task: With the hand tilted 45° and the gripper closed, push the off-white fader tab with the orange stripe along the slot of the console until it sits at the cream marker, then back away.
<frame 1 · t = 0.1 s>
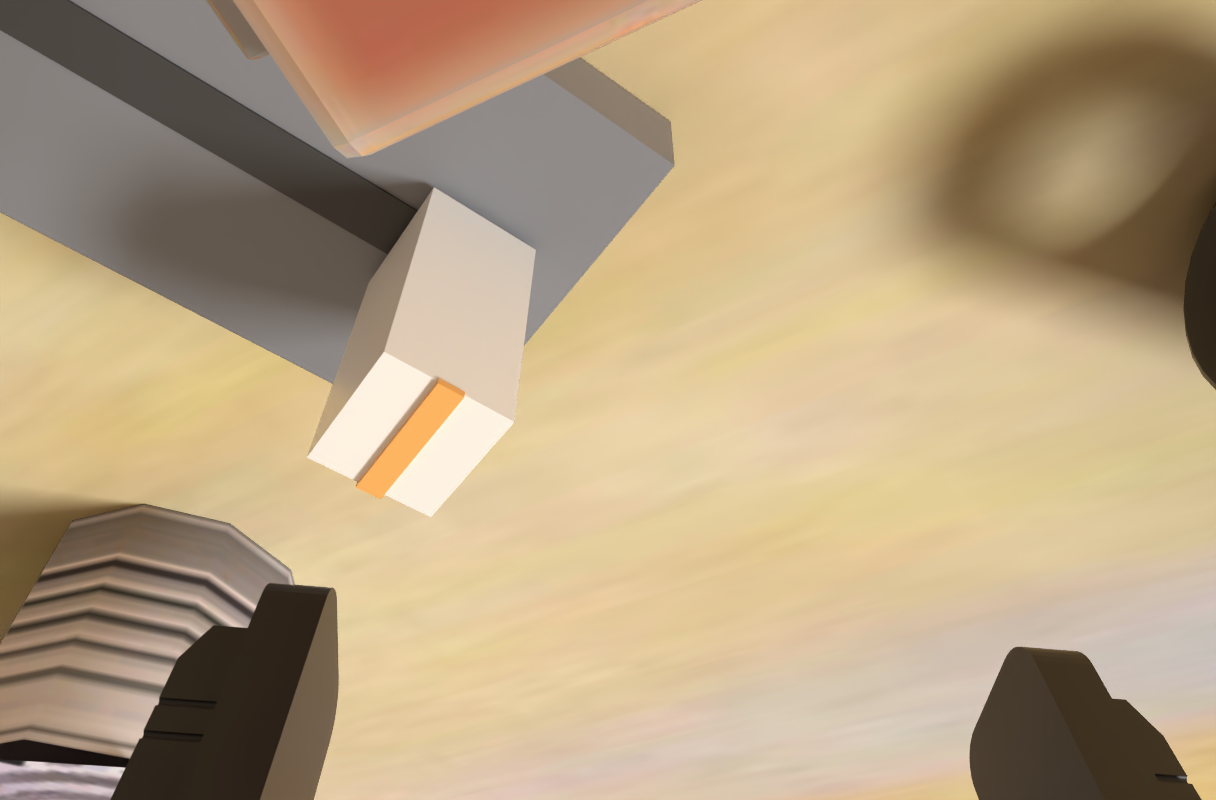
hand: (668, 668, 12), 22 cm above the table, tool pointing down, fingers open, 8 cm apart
console: (170, 33, 30), on the table
can: (179, 590, 46), on the table
fader tab: (432, 345, 28), point 7 cm above the table, slide at 0.0 cm
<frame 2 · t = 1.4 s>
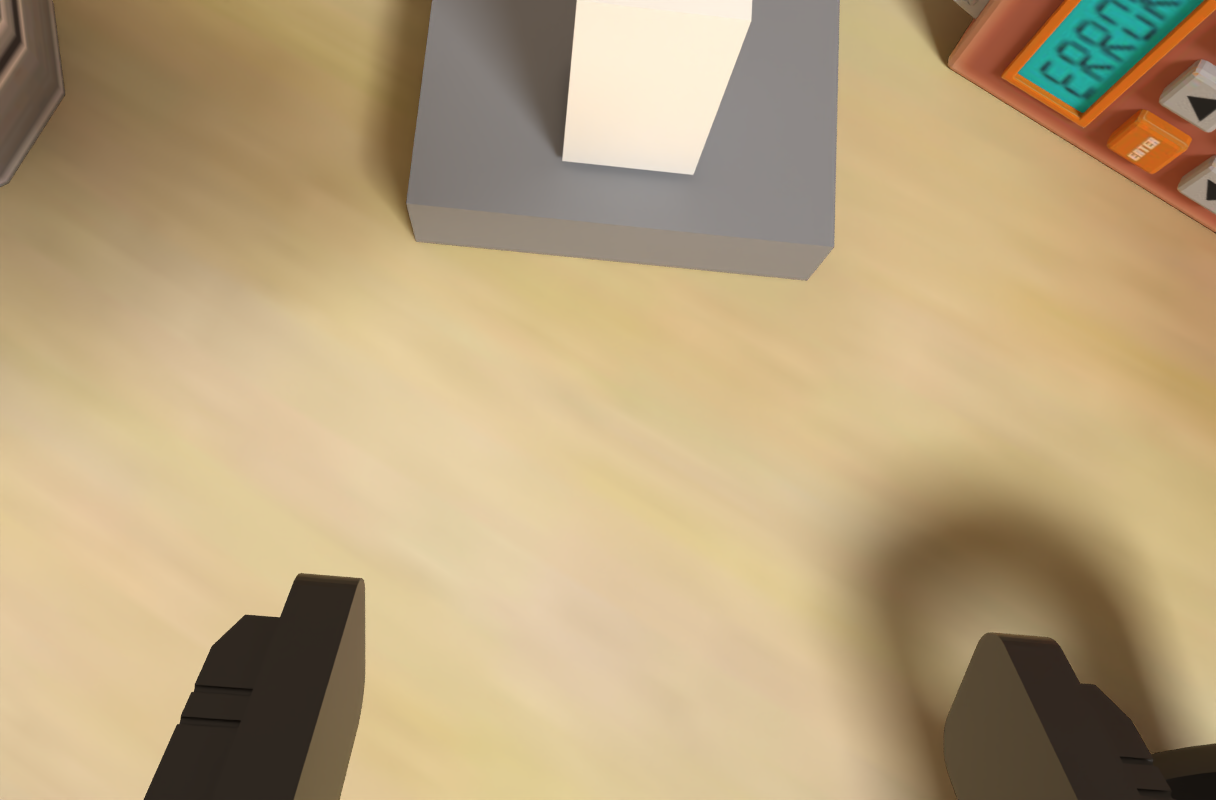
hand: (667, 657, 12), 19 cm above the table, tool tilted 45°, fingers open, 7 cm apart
fader tab: (648, 40, 27), point 7 cm above the table, slide at 0.0 cm
control panel: (1123, 105, 37), on the table
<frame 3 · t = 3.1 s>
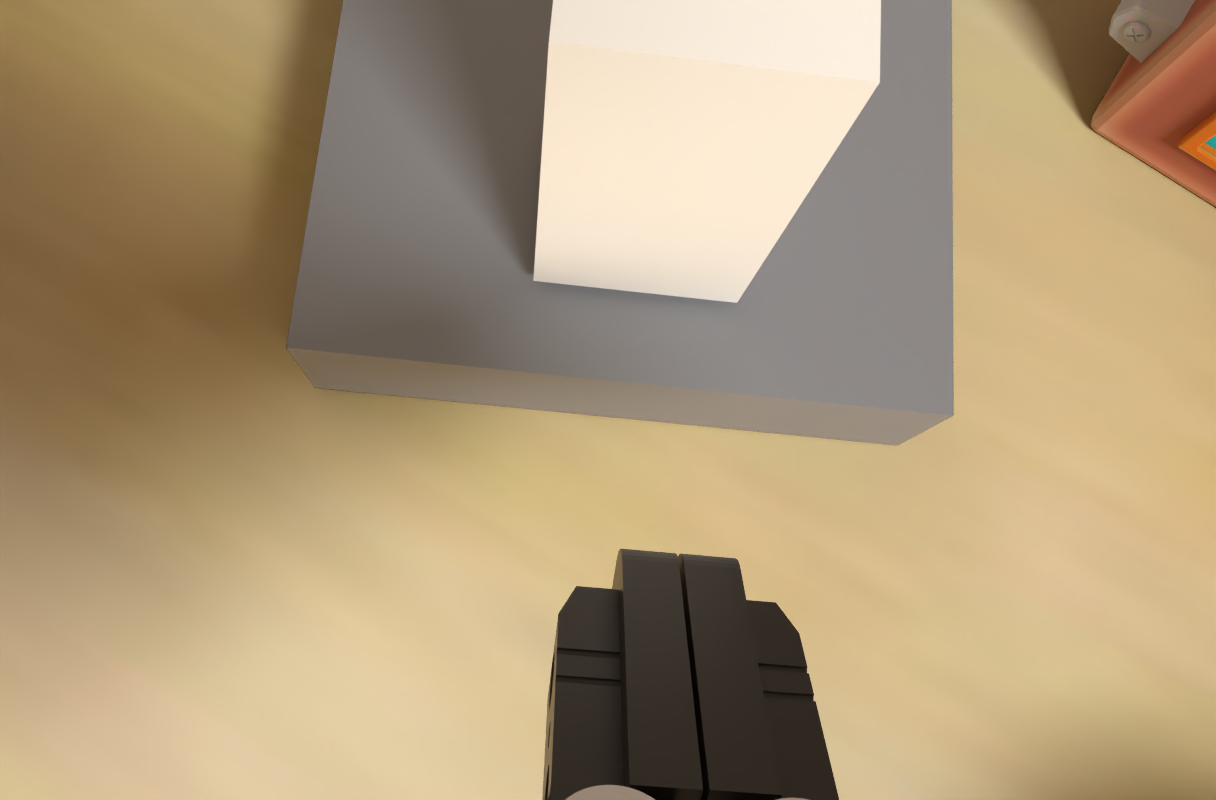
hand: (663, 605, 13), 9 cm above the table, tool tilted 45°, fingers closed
fader tab: (674, 102, 16), point 7 cm above the table, slide at 0.0 cm
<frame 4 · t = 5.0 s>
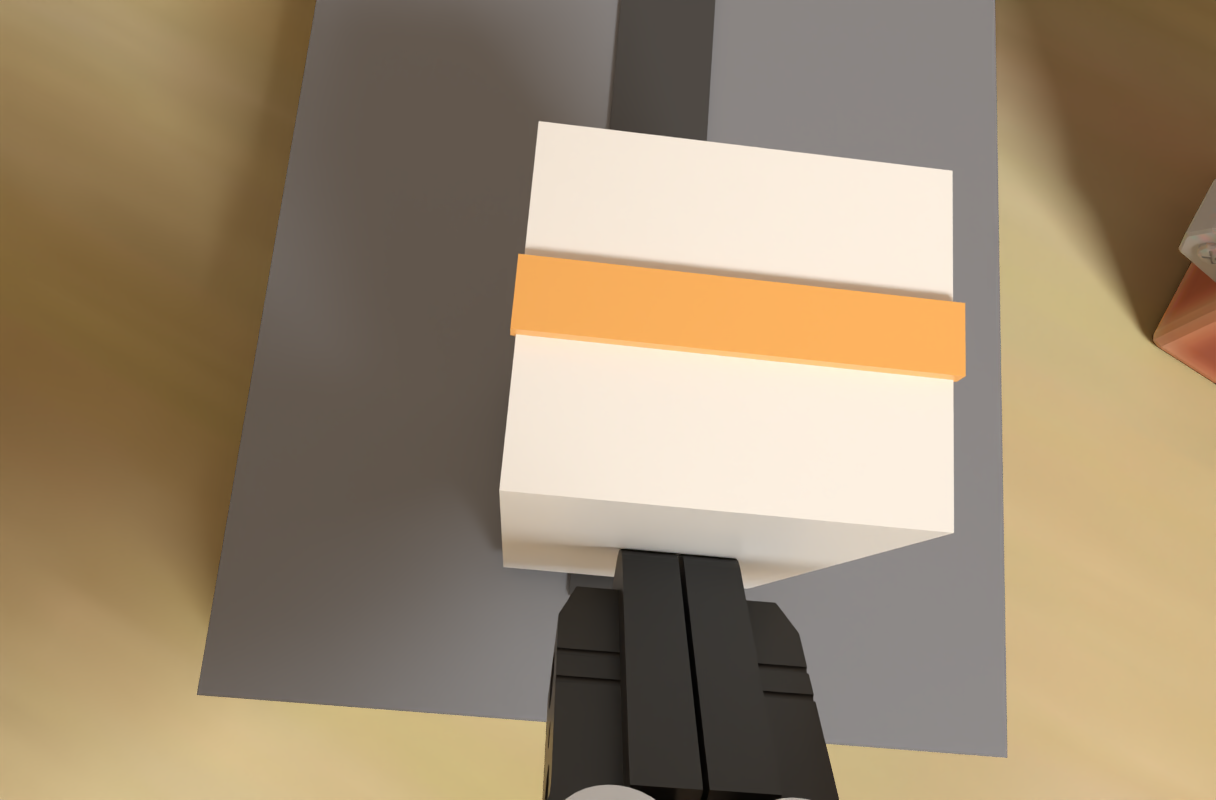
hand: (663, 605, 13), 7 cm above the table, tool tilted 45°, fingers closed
console: (647, 77, 23), on the table
fader tab: (672, 417, 13), point 7 cm above the table, slide at 0.6 cm, touching gripper
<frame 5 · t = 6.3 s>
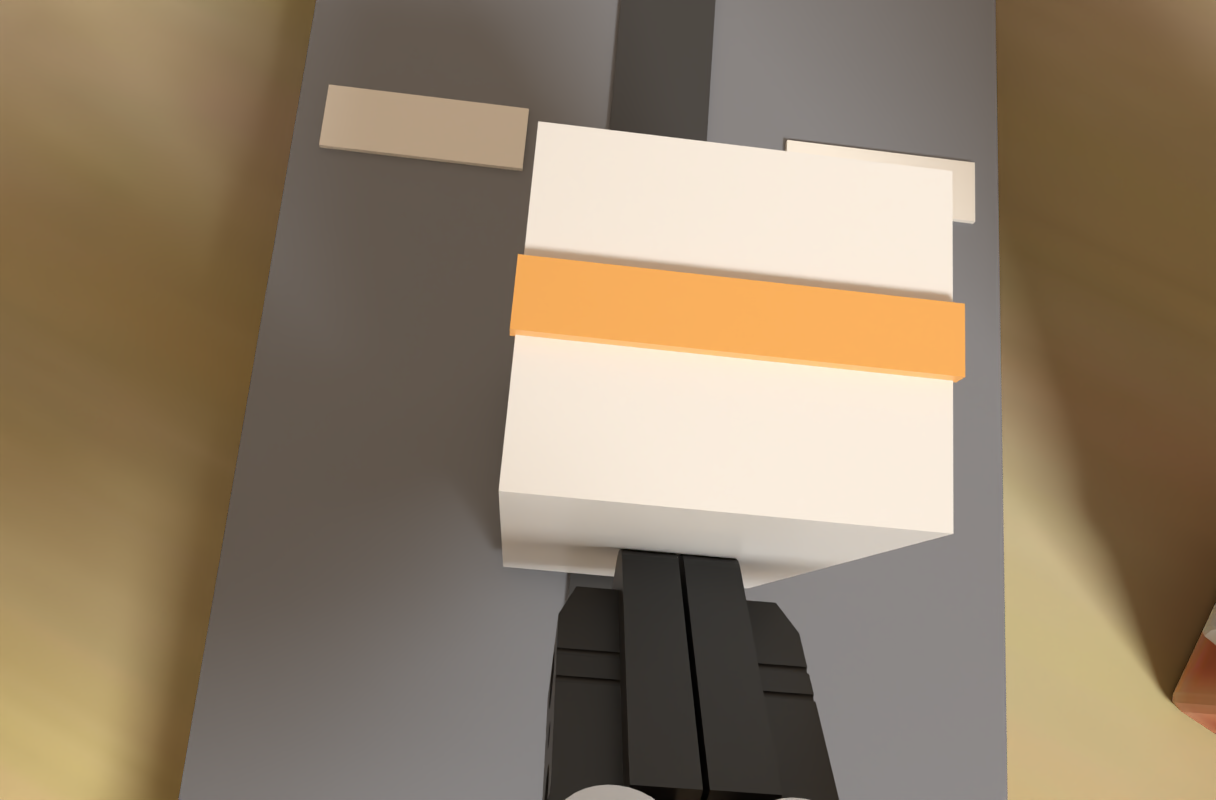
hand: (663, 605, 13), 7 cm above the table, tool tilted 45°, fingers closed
console: (621, 405, 21), on the table
fader tab: (672, 417, 13), point 7 cm above the table, slide at 8.1 cm, touching gripper
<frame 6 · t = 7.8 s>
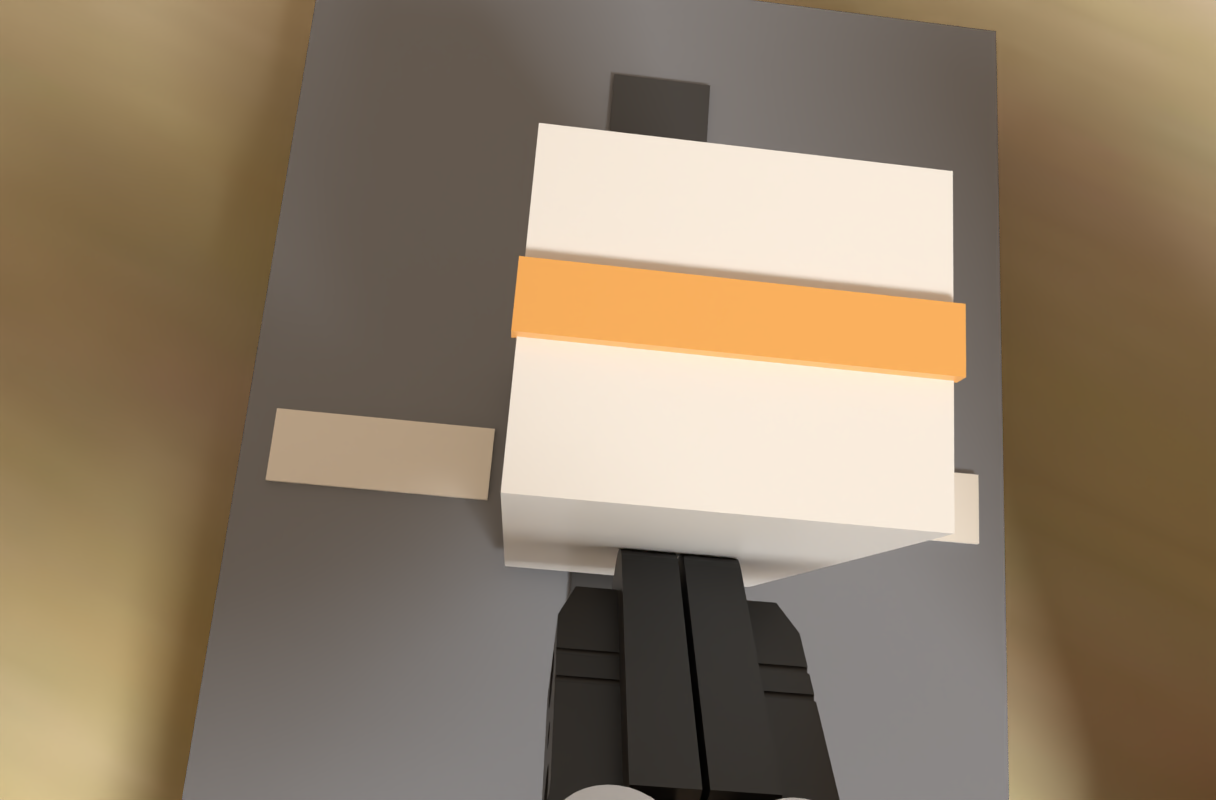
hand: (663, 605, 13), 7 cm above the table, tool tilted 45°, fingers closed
console: (599, 713, 19), on the table
fader tab: (673, 416, 13), point 7 cm above the table, slide at 14.1 cm, touching gripper
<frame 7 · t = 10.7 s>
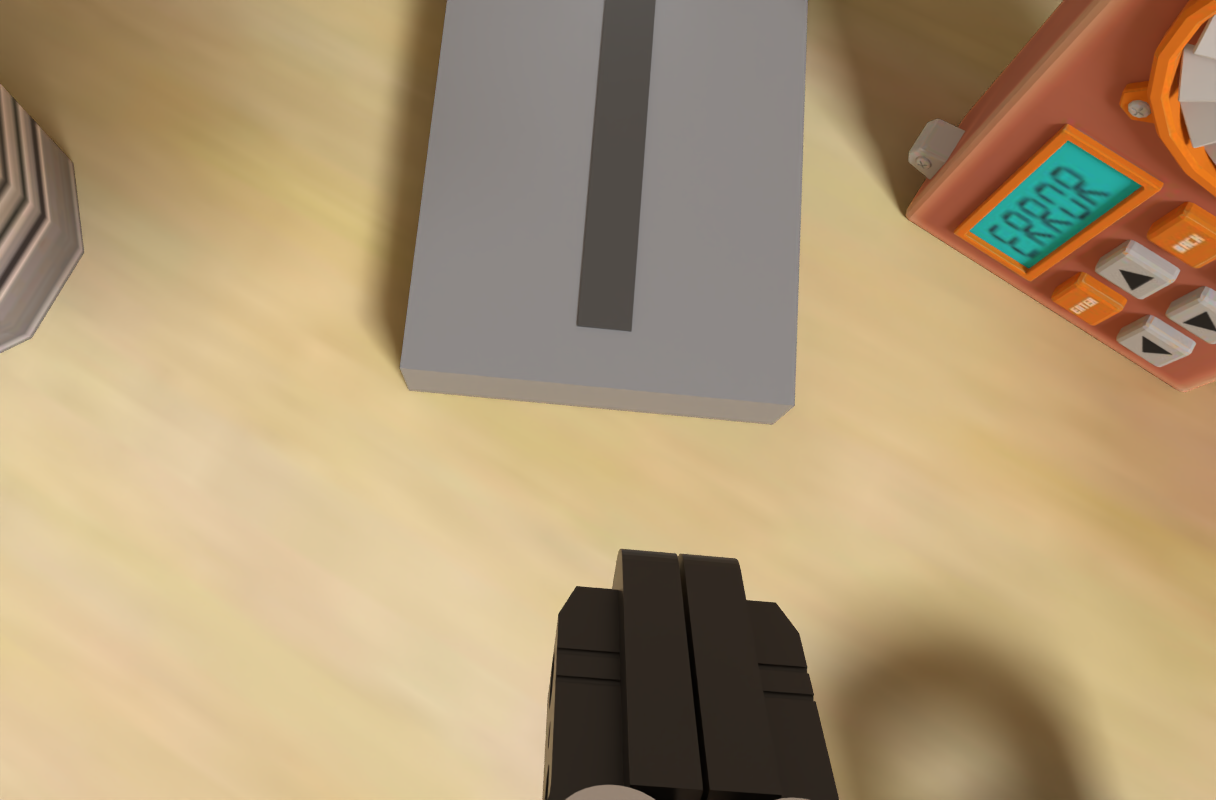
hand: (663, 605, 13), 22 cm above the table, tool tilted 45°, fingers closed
console: (620, 69, 40), on the table
control panel: (1069, 252, 40), on the table
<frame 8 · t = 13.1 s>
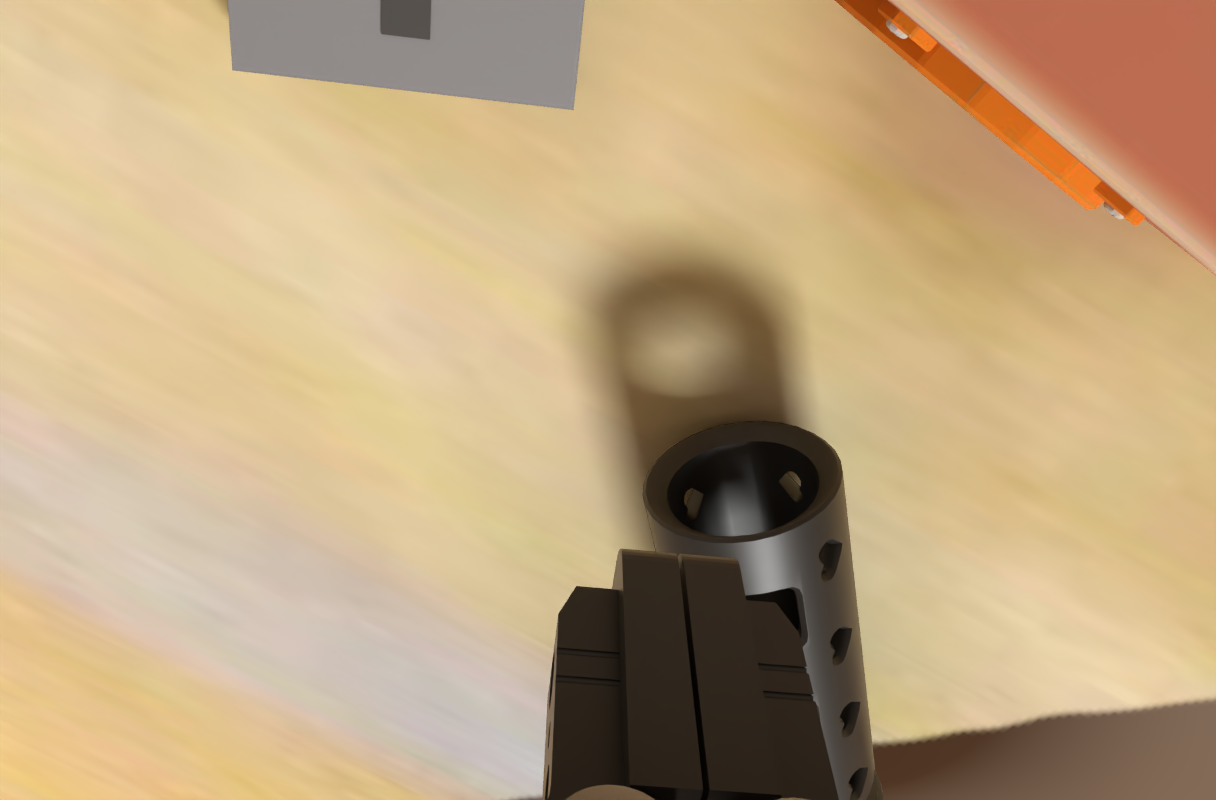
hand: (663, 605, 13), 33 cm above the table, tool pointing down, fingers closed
muzzle brake: (761, 614, 58), on the table
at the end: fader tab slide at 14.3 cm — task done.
